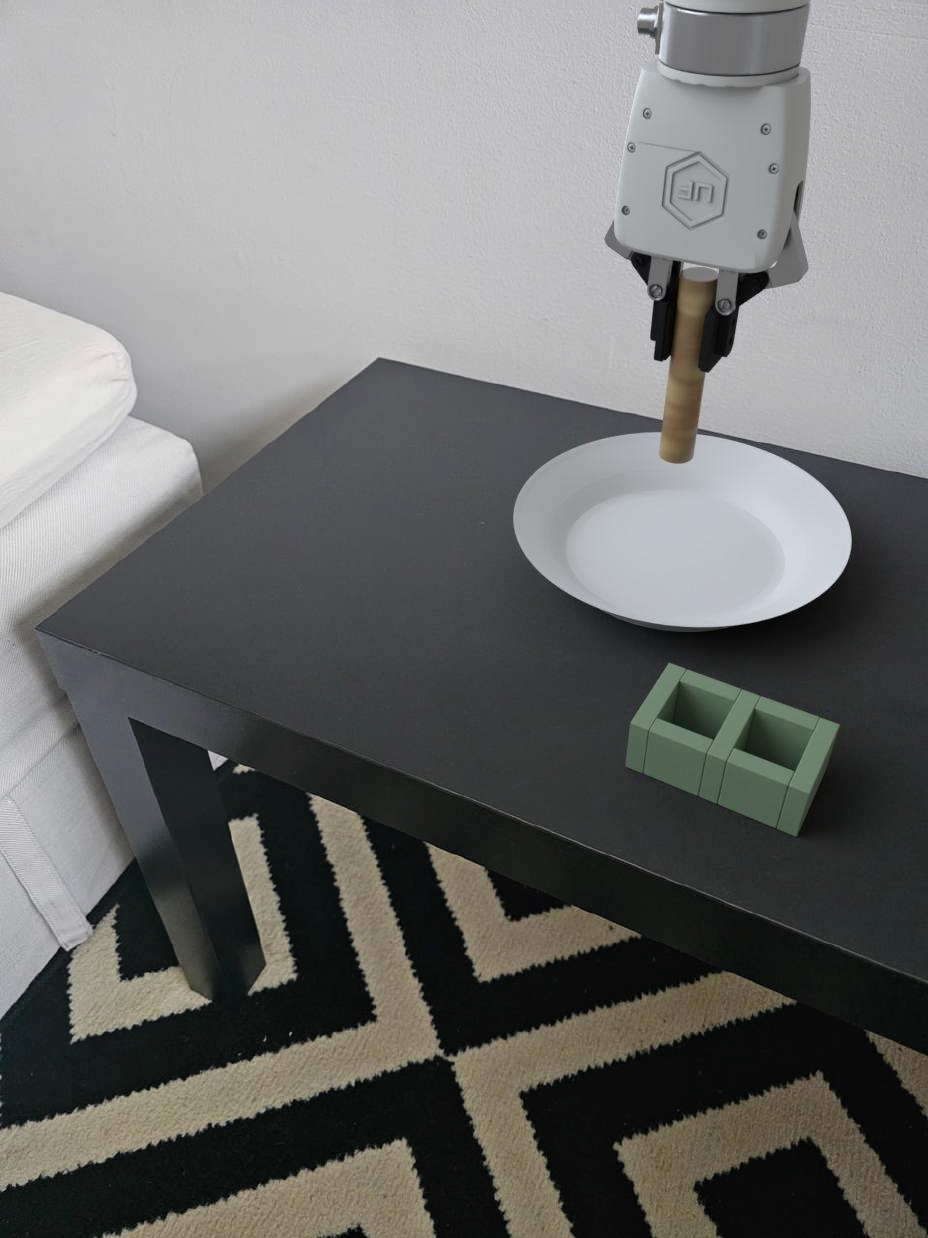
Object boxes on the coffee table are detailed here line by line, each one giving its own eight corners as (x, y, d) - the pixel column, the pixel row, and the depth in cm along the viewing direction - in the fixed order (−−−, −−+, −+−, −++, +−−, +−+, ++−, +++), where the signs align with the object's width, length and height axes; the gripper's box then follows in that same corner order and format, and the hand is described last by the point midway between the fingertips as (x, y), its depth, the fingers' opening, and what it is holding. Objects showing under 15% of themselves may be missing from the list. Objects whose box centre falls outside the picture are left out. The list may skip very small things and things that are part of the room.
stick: (698, 451, 71) (725, 270, 62) (685, 467, 69) (711, 284, 61) (666, 442, 72) (688, 263, 63) (653, 458, 70) (674, 277, 62)
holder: (826, 768, 62) (840, 724, 59) (796, 837, 58) (810, 793, 56) (662, 706, 66) (669, 662, 64) (625, 766, 63) (629, 722, 60)
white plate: (882, 523, 81) (894, 485, 78) (769, 716, 65) (779, 676, 63) (604, 440, 92) (607, 405, 89) (451, 589, 76) (449, 551, 74)
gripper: (563, 40, 54) (553, 354, 67) (866, 72, 48) (792, 413, 60) (621, 13, 59) (601, 311, 71) (903, 38, 53) (828, 361, 65)
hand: (689, 355), depth 66 cm, fingers closed on stick, 2 cm apart
